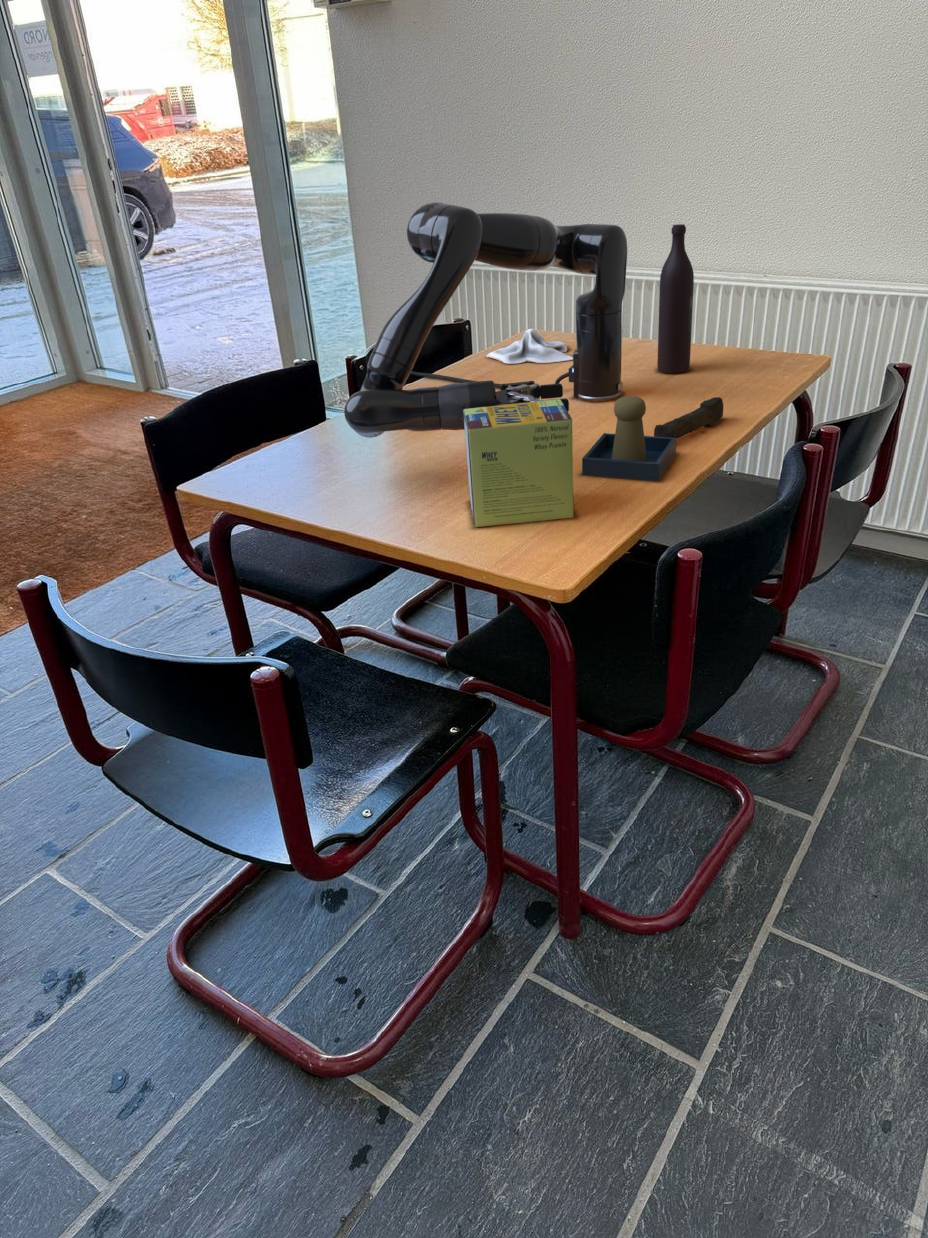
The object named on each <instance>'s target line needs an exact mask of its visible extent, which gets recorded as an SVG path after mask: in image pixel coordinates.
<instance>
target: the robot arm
mask: <svg viewBox="0 0 928 1238" xmlns="http://www.w3.org/2000/svg"><path fill="white" fill-rule="evenodd" d="M406 237H407V242H408V244H409V247H410V249H411V250H412V251H413V253H414V254H415V255H416V256H417V257H418V258H420V260H421V259H422V260H423V261H425V262H427V263H430V264H432V266H431V268H430V270H429V271H428V274H427V276H426V277H425V279H424V280H423V281H422V283H421V284H420V285H419V286H418V288H417V289H416V290H415V291H414V292H413V293H412V294H411V296H409V297H408V298H407V299H406V300H405V301H404V302H403V303H402V304H401V305H400V306H399V307H398V308H396V310H395V311H394V312H393V314H392V315H391V316H390V317H389V318H388V320H387V321H386V322H385V324H384V326H383V328H382V330H381V332H380V333H379V336H378V338H377V341H376V343H375V344H374V347H373V350H372V351H371V353H370V356H369V359H368V361H367V367H366V370H367V371H366V375H365V378H364V380H363V382H362V385H361V386H360V390H359V391H357V392H354V393H353V394H352V395H350V397H349V398H348V399H347V400H346V403H345V405H344V410H343V411H344V413H343V414H344V418H345V421H346V424H347V425H348V426H349V427H350V428H351V430H353V431H354V432H355V433H356V434H358V435H359V436H361V437H364V438H368V439H373V438H377V437H380V436H381V435H383V434H384V433H385V432H394V431H406V430H407V431H411V432H418V433H419V432H431V431H434V432H435V431H464V417H463V410H464V409H470V408H479V407H489V406H499V405H507V404H517V403H528V402H538V401H547V400H550V399H551V400H556V399H560V400H561V401H562V403H563V405H564V406H565V408H566V410H567V411H568V412H569V411H570V402H569V399H568V398H567V397H566V398H562V397H563V396H564V385H562V383H560V382H561V381H563V380H565V379H566V378H568V383H572V384H573V399H580V400H582V401H586V402H587V401H588V402H604V401H606V402H607V401H611V400H615V399H619V398H620V397H622V393H623V392H622V391H623V390H622V389H623V387H624V386H623V384H624V383H623V380H622V352H623V351H622V348H623V347H622V346H623V345H622V344H623V342H622V341H623V340H622V339H623V301H624V297H625V292H626V286H627V285H626V284H627V283H626V282H627V268H628V267H627V266H628V239H627V235H626V233H625V231H624V229H623V228H622V227H621V226H619V225H617V224H616V225H615V224H606V223H605V224H604V223H603V224H602V223H601V224H600V223H583V224H573V225H556V224H554V223H553V222H552V221H551V220H550V219H547V218H545V217H543V216H538V215H532V214H524V213H509V212H508V213H507V212H486V213H481V212H480V213H477V212H476V211H475V210H473V209H471V208H469V207H466V206H461V205H455V204H450V203H449V204H448V203H443V202H429V203H426V204H423V205H421V206H420V207H418V208H417V209H416V210H415V211H414V212H413V213H412V215H411V216H410V218H409V219H408V223H407V227H406ZM475 261H476V262H480V263H483V264H486V265H490V266H494V267H499V268H502V269H508V270H513V271H514V270H515V271H527V272H535V271H543V270H546V269H548V268H557V269H562V270H566V271H570V272H573V273H576V274H581V275H587V276H595V281H594V282H595V283H594V286H593V287H594V288H593V289H591V290H590V291H587V292H584V293H581V294H580V295H578V296H577V297H576V299H575V347H576V349H575V350H574V351H573V353H572V357H573V360H572V365H571V366H570V367H569V368H568V372H565V373H562V374H561V375H560V376H558V377H557V378H556V380H555V382H554V383H549V384H548V383H547V384H540V383H536V382H535V381H534V380H527V381H517V382H508V383H496V382H494V381H493V380H489V379H488V380H473V379H472V380H471V379H466V378H461V377H460V378H459V377H456V376H455V377H454V376H449V375H443V374H438V373H437V374H435V373H430V372H429V373H427V372H418V371H414V370H413V368H414V367H415V363H416V361H417V359H418V357H419V355H420V353H421V351H422V348H423V346H424V343H425V342H426V340H427V338H428V335H429V334H430V332H431V330H432V328H433V326H434V325H435V323H436V322H437V320H438V319H439V317H440V315H441V313H442V312H443V311H444V309H445V307H446V306H447V304H448V303H449V301H450V300H451V298H452V297H453V295H454V294H455V292H456V291H457V289H458V288H459V286H460V284H461V283H462V281H463V280H464V278H465V277H466V275H467V273H469V271H470V269H471V268H472V266H473V264H474V262H475ZM410 376H415V377H420V378H432V379H438V380H444V381H449V382H450V381H451V382H456V383H449V384H444V385H439V386H428V387H427V386H426V387H417V388H412V389H403V388H404V386H405V384H406V382H407V380H408V379H409V377H410ZM496 389H499V390H498V391H496Z"/></svg>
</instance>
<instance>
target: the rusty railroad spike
mask: <svg viewBox="0 0 928 1238" xmlns="http://www.w3.org/2000/svg"><path fill="white" fill-rule="evenodd" d="M723 417H724V401H723V399H722V397H721V396H715V397H711V398H710V399H707V400H704V401H702V402H701V403H699V407H697V408H696V409H694V410H692V411H690V412H688V413H685V414H683V415H681V416H679V417H677V418H674V419H672V420H670V421H667V422H665V423H663V424H656V425H655V427H654V428H653V436H655V437H671V438H676V440H678V439H681V438H682V437H684V436H686V435H689V434H691V433H694V432H696V431H697V430H699V429H701V428H703V427H704V428H711V427H714V426H715V425H716V424H718V422H720V420H721V419H722V418H723Z"/></svg>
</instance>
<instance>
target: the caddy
mask: <svg viewBox="0 0 928 1238" xmlns="http://www.w3.org/2000/svg"><path fill="white" fill-rule="evenodd" d="M614 438H615V433H609V432H608V433H607V432H604V433H602V434H601V436H600V437H599V438H598V439H597V440H596V441H595V443H594V444H593V445H592V446H591V447H590V448H589V450H588V451H587V452H586V453H585V454H584V456H582V458H581V474H582V476H589V477H601V478H611V479H624V480H636V481H649V482H660V480H661V478H662V477H663V475H664V473H665V472H666V471H667V469H668V467H669V466H670V464H671V463H672V461H673V459H674V458H675V456H676V454H677V439H676V438H671V437H655V436H654V435H644V439H645V447H646V456H647V462H642V461H629V460H616V459H612V452H613V445H614Z"/></svg>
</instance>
